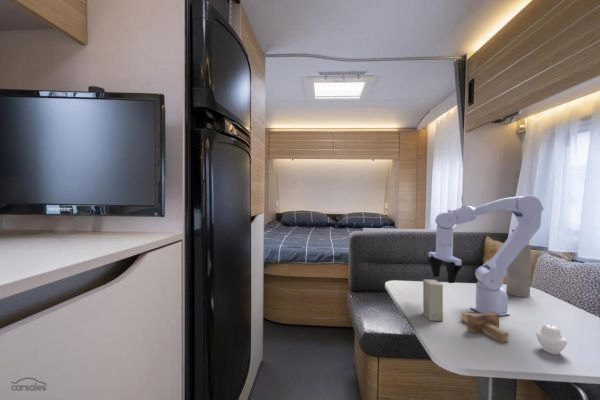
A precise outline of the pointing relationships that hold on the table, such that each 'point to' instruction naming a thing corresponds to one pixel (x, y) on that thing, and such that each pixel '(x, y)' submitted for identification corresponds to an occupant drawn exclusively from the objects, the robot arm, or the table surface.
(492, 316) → the tall wooden block
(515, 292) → the thermos bottle
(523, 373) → the table surface
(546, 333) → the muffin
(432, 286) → the skincare box
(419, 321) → the table surface
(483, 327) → the oak rail
